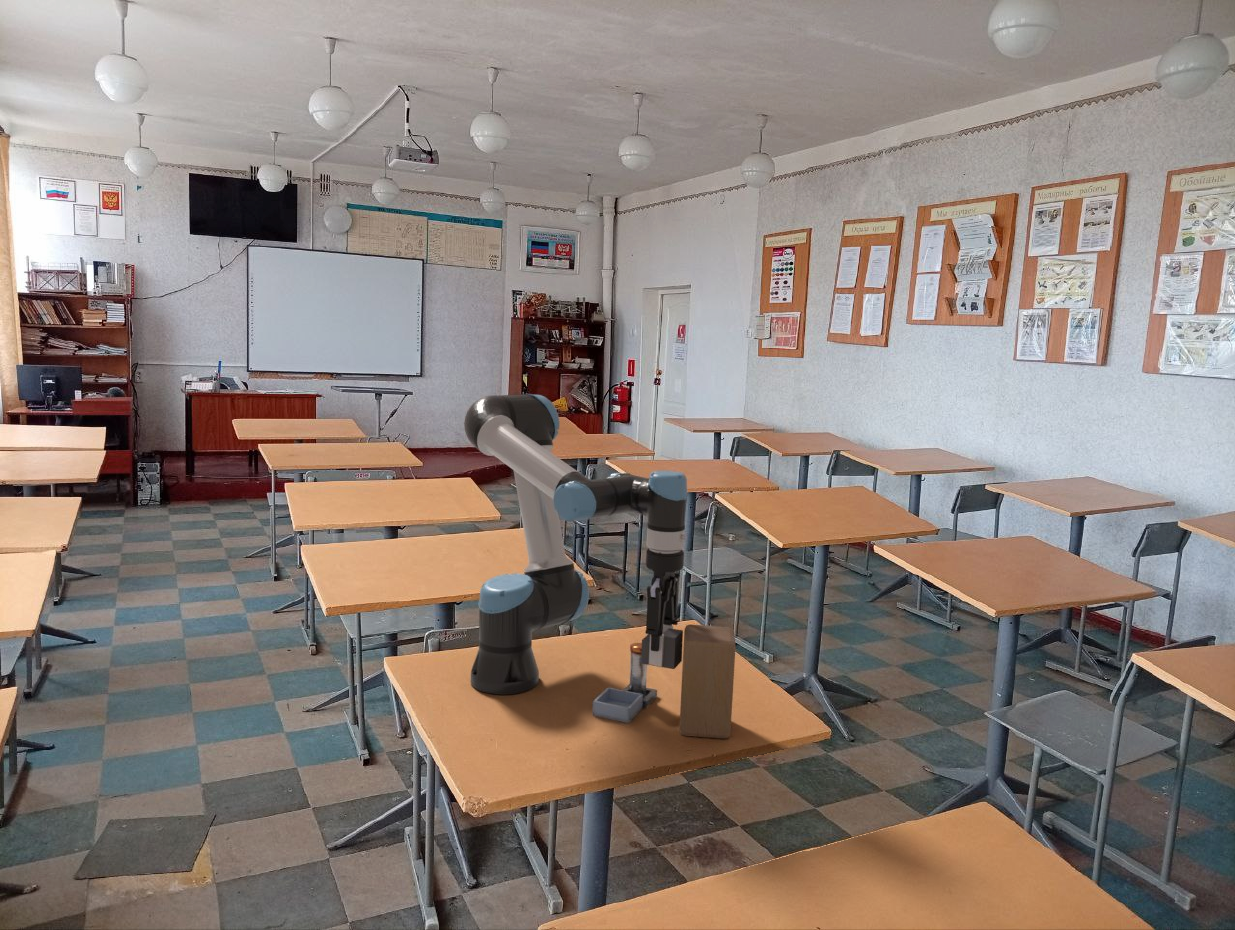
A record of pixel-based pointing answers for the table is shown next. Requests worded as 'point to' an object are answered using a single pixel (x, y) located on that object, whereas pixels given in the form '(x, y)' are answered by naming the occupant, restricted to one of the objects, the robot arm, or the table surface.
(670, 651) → the dark grey stepped piece
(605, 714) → the tray
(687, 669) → the block
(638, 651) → the pin
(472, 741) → the table surface
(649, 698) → the socket
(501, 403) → the robot arm
